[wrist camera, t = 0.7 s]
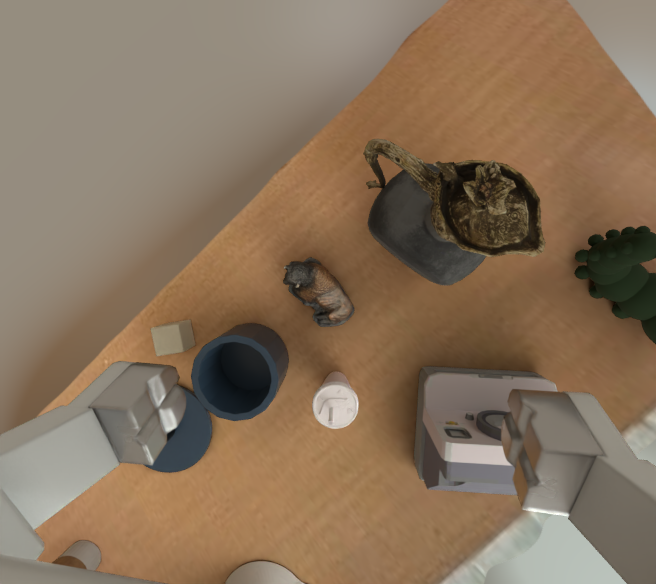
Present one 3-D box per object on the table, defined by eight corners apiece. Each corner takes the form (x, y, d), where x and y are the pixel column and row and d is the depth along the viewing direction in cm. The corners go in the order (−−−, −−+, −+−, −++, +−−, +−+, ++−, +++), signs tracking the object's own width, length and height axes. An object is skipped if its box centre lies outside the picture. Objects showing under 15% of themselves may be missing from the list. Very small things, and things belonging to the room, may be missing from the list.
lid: (221, 461, 60) (209, 480, 54) (136, 473, 61) (117, 493, 55) (203, 376, 59) (190, 387, 53) (117, 389, 59) (96, 402, 54)
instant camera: (556, 374, 56) (633, 415, 41) (523, 495, 58) (585, 576, 43) (424, 347, 57) (453, 378, 42) (396, 467, 59) (414, 538, 44)
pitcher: (432, 290, 56) (534, 324, 26) (336, 216, 55) (329, 163, 26) (477, 235, 55) (637, 204, 25) (380, 159, 54) (425, 34, 25)
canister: (294, 388, 58) (285, 413, 49) (223, 399, 59) (201, 426, 49) (281, 317, 57) (269, 328, 48) (209, 329, 58) (183, 342, 48)
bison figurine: (362, 304, 56) (366, 313, 46) (330, 334, 57) (328, 349, 47) (310, 249, 56) (303, 247, 46) (279, 280, 57) (265, 284, 47)
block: (195, 345, 58) (183, 352, 54) (170, 349, 58) (156, 356, 54) (190, 319, 58) (178, 323, 53) (164, 323, 58) (150, 328, 54)
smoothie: (310, 373, 58) (300, 409, 44) (345, 356, 57) (346, 387, 43) (327, 407, 58) (322, 453, 44) (362, 391, 58) (369, 432, 44)
